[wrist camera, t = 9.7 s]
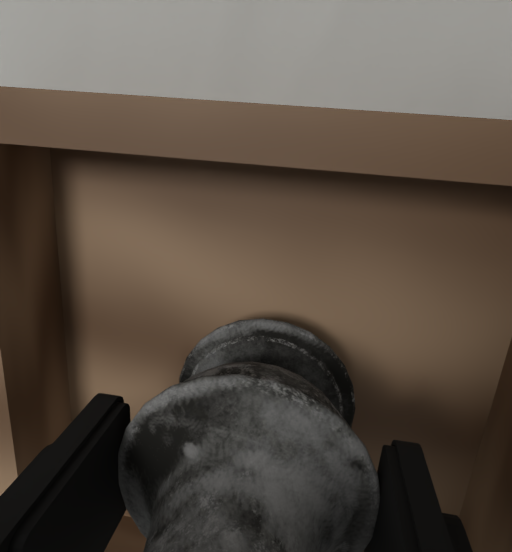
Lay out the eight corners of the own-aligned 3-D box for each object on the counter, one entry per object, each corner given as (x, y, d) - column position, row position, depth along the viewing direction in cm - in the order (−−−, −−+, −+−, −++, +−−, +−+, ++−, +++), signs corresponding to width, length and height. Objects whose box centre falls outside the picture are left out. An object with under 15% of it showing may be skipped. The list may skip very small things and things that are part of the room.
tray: (21, 96, 13) (-84, 80, 9) (608, 136, 11) (734, 134, 7) (61, 511, 18) (2, 595, 15) (463, 590, 16) (499, 706, 13)
